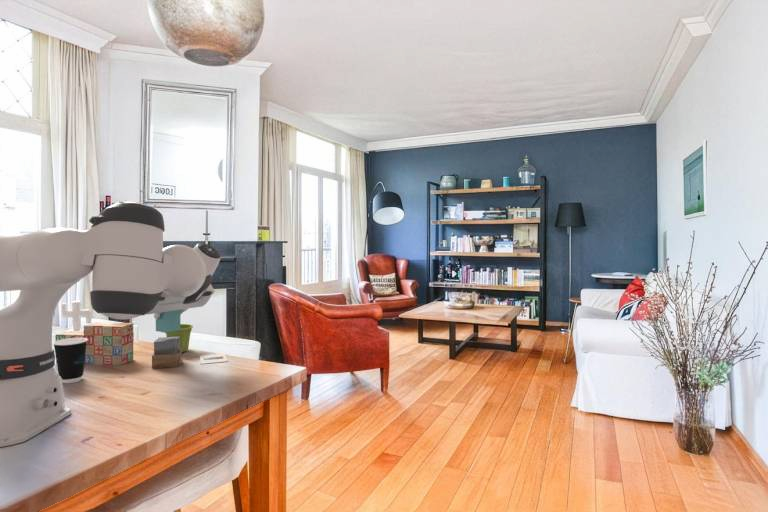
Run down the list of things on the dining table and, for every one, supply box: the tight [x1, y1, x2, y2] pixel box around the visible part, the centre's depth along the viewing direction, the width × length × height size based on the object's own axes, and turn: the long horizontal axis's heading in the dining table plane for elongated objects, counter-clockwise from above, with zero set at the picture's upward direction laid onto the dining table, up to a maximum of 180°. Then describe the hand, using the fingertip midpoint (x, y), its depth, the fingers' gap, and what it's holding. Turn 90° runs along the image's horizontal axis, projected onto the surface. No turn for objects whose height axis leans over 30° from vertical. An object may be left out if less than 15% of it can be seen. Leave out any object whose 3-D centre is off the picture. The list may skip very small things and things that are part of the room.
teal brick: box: [155, 310, 182, 334], centre depth 139 cm, size 5×5×8 cm
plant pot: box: [165, 323, 194, 353], centre depth 156 cm, size 9×9×9 cm
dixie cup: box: [52, 338, 88, 384], centre depth 124 cm, size 8×8×11 cm
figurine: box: [61, 299, 92, 332], centre depth 171 cm, size 7×9×15 cm
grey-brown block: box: [151, 336, 183, 369], centre depth 139 cm, size 7×7×8 cm
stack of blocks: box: [55, 321, 135, 366], centre depth 142 cm, size 21×6×12 cm, turn 87°
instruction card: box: [199, 353, 228, 365], centre depth 147 cm, size 10×8×1 cm
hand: (166, 316), depth 139 cm, fingers closed on teal brick, 5 cm apart
